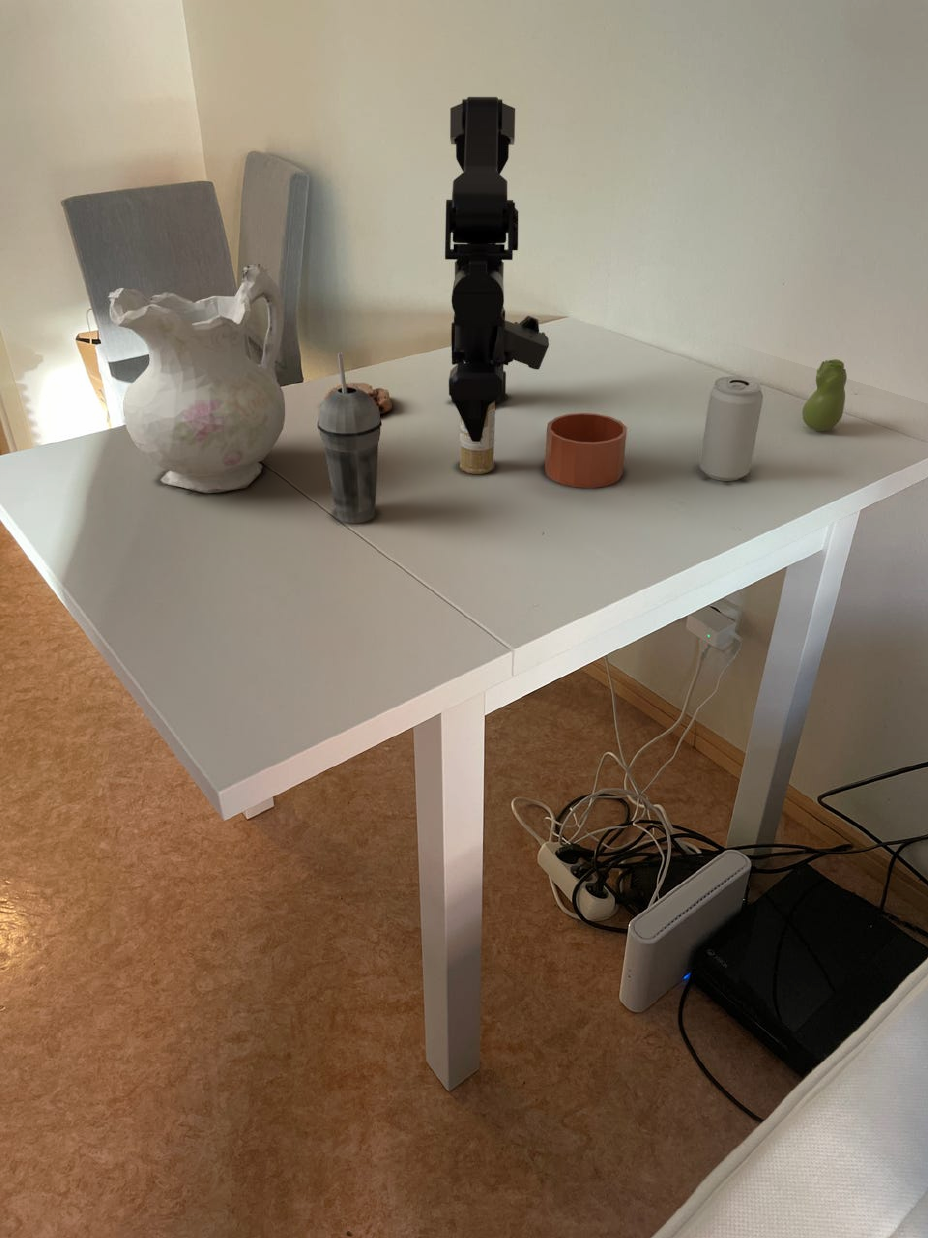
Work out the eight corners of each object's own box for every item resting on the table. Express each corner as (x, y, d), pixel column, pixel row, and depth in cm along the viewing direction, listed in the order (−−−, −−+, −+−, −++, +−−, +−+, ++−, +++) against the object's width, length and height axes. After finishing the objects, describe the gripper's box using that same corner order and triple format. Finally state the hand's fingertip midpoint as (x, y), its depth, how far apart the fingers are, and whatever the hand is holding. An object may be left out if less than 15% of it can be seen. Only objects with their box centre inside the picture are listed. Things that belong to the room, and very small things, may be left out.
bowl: (531, 476, 124) (533, 433, 120) (565, 449, 131) (568, 407, 127) (603, 494, 119) (607, 449, 116) (634, 465, 127) (638, 422, 123)
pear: (833, 439, 134) (849, 369, 128) (794, 432, 136) (809, 362, 130) (842, 426, 138) (857, 357, 132) (804, 419, 140) (818, 351, 134)
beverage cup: (395, 506, 117) (388, 342, 106) (371, 533, 111) (361, 363, 100) (341, 497, 119) (328, 336, 108) (314, 523, 113) (298, 356, 102)
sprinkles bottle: (454, 472, 125) (454, 371, 117) (467, 458, 128) (467, 359, 121) (487, 477, 124) (489, 376, 116) (499, 463, 127) (501, 364, 120)
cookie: (337, 392, 149) (336, 373, 147) (402, 399, 146) (402, 380, 145) (312, 416, 141) (310, 396, 139) (380, 423, 138) (379, 403, 137)
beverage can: (753, 467, 126) (769, 378, 119) (743, 487, 121) (759, 395, 115) (704, 458, 128) (718, 371, 122) (693, 477, 123) (706, 387, 117)
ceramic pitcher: (237, 436, 137) (201, 253, 124) (339, 459, 127) (311, 262, 114) (112, 491, 123) (57, 290, 110) (216, 522, 112) (168, 305, 100)
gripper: (548, 326, 106) (542, 458, 115) (544, 284, 122) (539, 403, 130) (448, 324, 107) (449, 456, 115) (457, 283, 122) (457, 402, 131)
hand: (477, 427), depth 123 cm, fingers open, 9 cm apart
